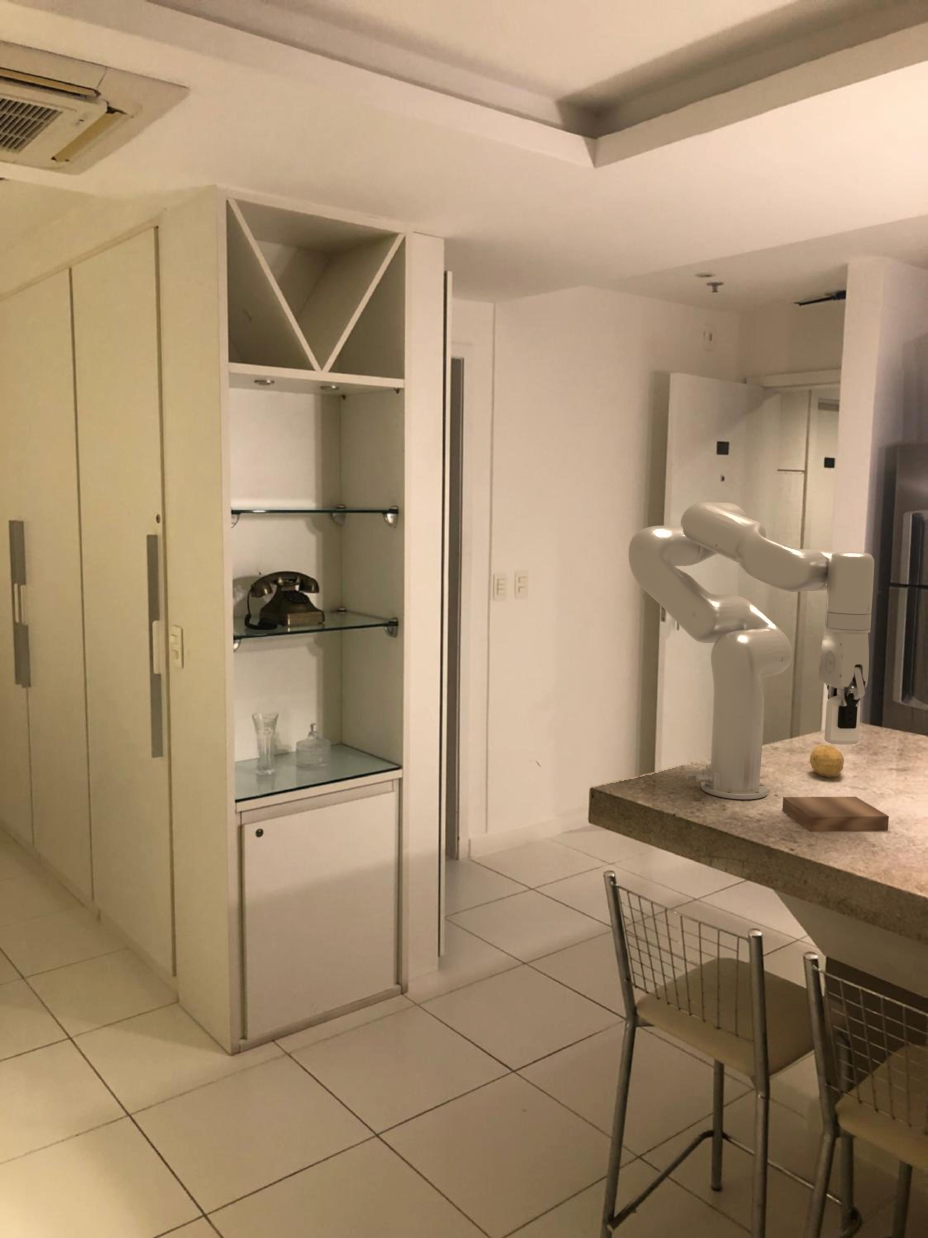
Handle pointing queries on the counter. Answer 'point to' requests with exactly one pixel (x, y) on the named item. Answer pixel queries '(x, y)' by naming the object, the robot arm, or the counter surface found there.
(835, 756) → the potato
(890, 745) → the counter surface
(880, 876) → the counter surface
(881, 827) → the walnut block
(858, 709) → the grey tapered bottle shape
